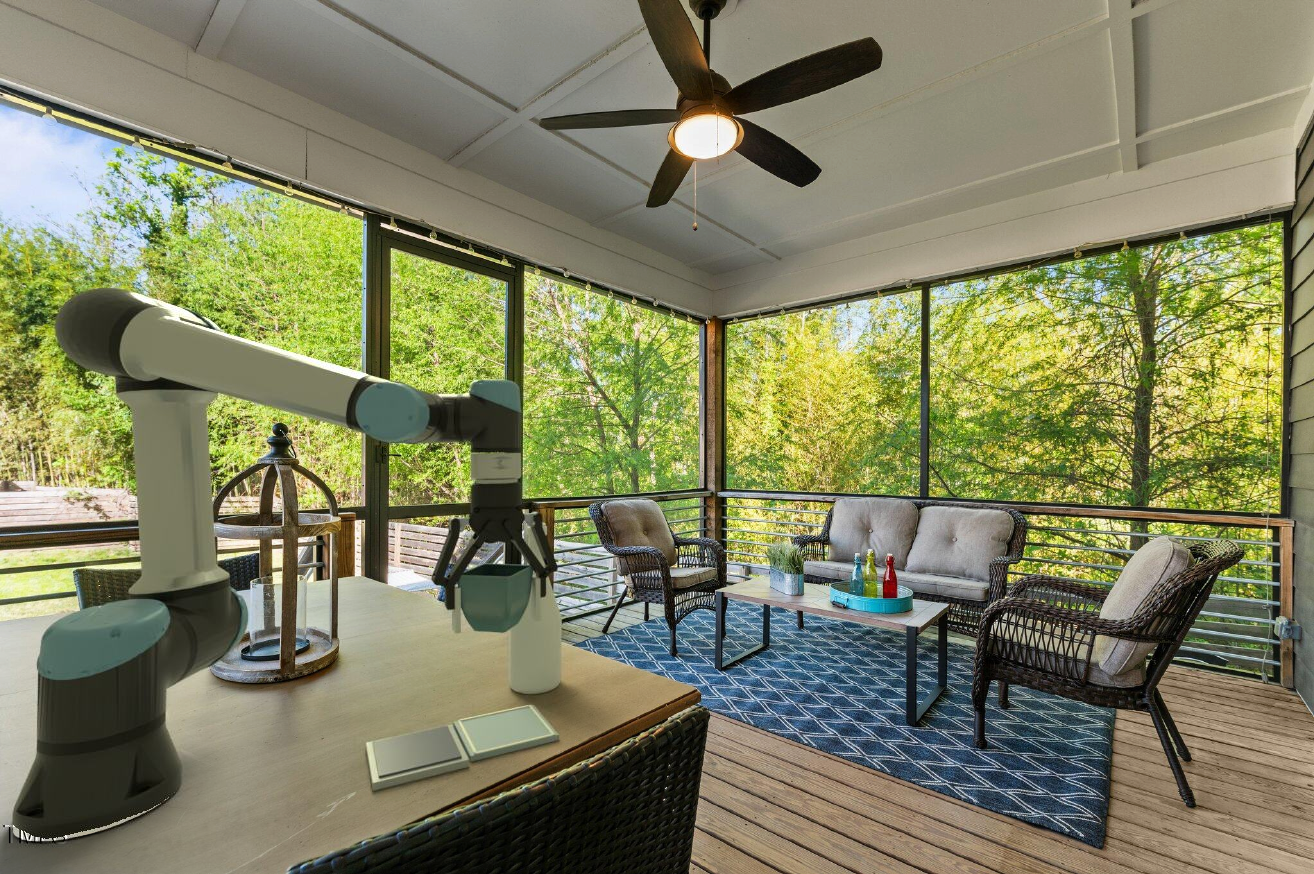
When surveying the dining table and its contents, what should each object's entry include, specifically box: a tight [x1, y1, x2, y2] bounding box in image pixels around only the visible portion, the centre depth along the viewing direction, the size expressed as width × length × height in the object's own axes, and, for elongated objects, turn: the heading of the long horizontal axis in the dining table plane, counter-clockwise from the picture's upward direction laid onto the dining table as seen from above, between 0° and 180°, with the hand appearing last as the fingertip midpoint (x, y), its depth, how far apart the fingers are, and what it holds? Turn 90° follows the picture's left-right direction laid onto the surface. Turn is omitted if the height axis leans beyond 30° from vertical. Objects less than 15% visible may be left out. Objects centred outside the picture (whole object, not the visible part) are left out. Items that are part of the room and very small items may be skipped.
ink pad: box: [365, 723, 470, 791], centre depth 84 cm, size 12×12×1 cm
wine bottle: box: [508, 522, 563, 695], centre depth 111 cm, size 10×10×30 cm
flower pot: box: [456, 562, 533, 634], centre depth 91 cm, size 9×9×9 cm
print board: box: [452, 704, 560, 763], centre depth 92 cm, size 13×12×1 cm
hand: (497, 624), depth 91 cm, fingers closed on flower pot, 11 cm apart
